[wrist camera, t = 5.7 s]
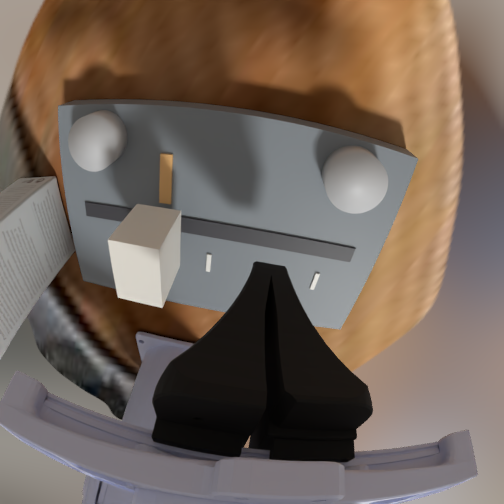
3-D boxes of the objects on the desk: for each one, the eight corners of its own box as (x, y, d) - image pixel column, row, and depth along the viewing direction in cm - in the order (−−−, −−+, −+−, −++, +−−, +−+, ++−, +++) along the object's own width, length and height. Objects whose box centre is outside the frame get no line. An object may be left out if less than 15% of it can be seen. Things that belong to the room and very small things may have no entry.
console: (337, 313, 20) (342, 343, 18) (92, 267, 20) (75, 292, 18) (406, 149, 13) (428, 167, 11) (73, 100, 13) (43, 111, 10)
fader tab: (186, 251, 16) (162, 307, 13) (148, 244, 16) (118, 297, 12) (188, 198, 14) (159, 249, 11) (146, 192, 14) (107, 239, 11)
